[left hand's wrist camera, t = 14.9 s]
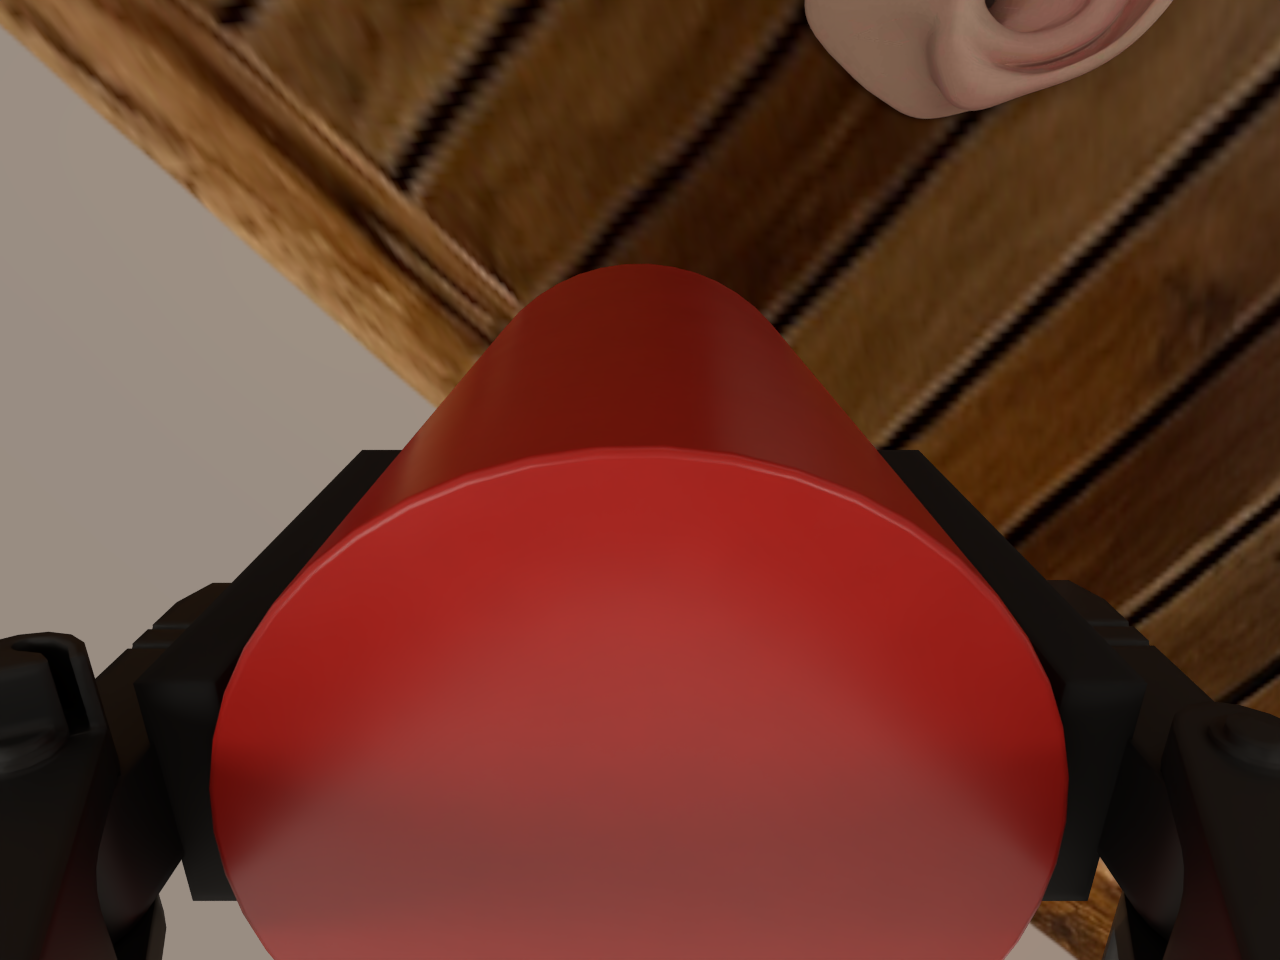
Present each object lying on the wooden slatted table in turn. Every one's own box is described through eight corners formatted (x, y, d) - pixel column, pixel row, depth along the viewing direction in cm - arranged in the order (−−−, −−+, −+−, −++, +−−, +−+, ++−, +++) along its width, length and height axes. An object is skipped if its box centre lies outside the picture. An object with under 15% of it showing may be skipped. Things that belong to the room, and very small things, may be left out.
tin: (711, 627, 21) (800, 1193, 9) (424, 508, 19) (119, 992, 8) (870, 356, 18) (1263, 679, 7) (551, 199, 17) (365, 267, 5)
